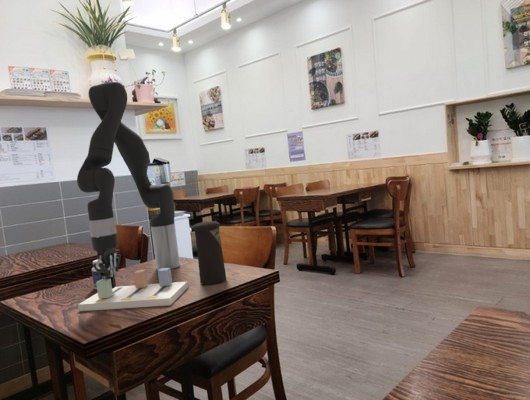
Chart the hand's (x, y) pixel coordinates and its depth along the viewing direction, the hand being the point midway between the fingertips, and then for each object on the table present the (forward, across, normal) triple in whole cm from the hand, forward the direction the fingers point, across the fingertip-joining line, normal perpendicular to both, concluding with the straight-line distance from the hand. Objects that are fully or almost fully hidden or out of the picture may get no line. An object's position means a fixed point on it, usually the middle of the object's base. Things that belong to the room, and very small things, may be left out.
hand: (111, 288), depth 126 cm
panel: (+4, +1, +8) cm, 9 cm away
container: (+4, -12, +29) cm, 32 cm away
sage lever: (+1, +4, 0) cm, 4 cm away
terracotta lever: (+1, -4, +8) cm, 9 cm away
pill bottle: (+4, -15, -12) cm, 19 cm away
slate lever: (+1, -4, +16) cm, 17 cm away
